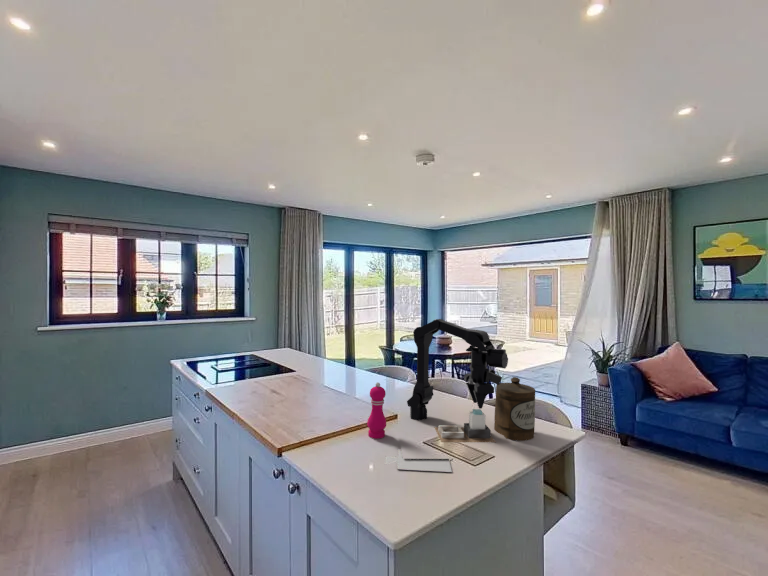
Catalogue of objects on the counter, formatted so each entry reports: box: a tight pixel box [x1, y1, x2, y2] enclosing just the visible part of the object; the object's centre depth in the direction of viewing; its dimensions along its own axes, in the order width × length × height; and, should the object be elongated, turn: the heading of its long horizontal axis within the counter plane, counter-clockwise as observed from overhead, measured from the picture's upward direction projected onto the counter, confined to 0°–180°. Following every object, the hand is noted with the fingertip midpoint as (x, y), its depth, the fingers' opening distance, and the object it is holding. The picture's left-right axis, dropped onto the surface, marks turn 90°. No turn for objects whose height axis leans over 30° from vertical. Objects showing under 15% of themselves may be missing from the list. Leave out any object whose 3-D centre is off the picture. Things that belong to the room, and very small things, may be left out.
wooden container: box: [493, 376, 536, 442], centre depth 146 cm, size 15×15×22 cm
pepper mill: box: [366, 382, 387, 440], centre depth 141 cm, size 7×7×20 cm
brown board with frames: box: [434, 422, 497, 443], centre depth 141 cm, size 20×14×4 cm
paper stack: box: [384, 448, 453, 473], centre depth 116 cm, size 23×25×1 cm
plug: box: [468, 408, 486, 429], centre depth 142 cm, size 5×4×9 cm
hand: (477, 405), depth 142 cm, fingers open, 6 cm apart
